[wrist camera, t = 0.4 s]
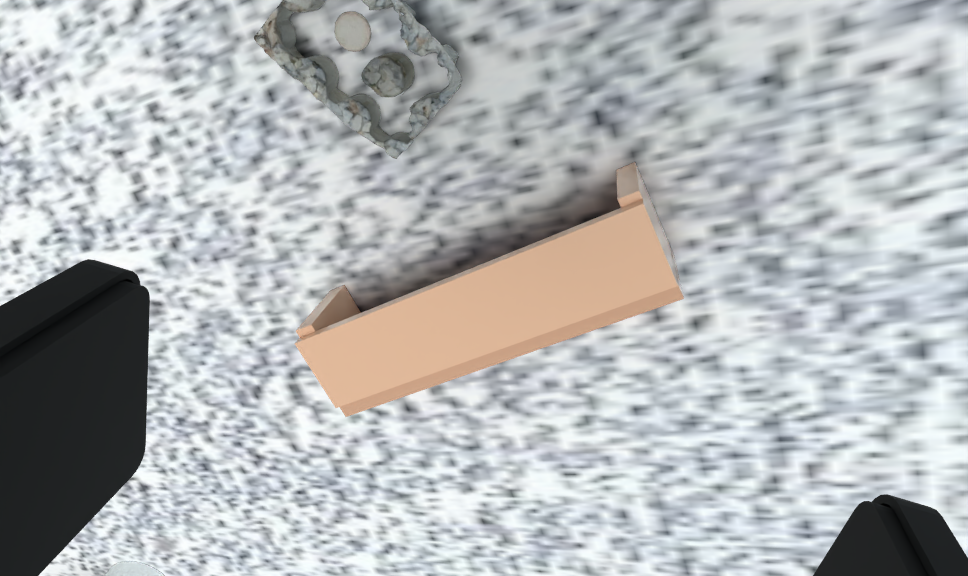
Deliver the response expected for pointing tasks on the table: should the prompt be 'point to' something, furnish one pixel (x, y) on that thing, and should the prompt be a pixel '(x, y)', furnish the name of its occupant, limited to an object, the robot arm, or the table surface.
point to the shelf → (495, 307)
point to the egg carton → (380, 74)
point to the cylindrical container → (132, 569)
